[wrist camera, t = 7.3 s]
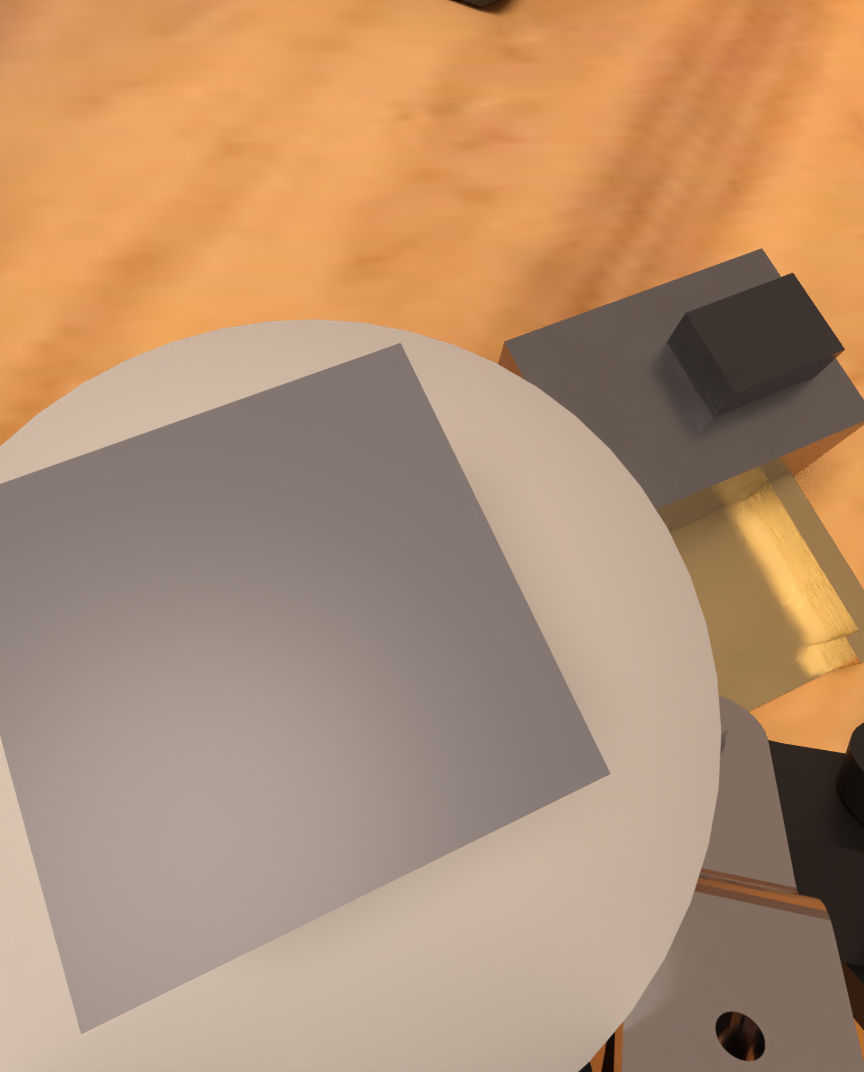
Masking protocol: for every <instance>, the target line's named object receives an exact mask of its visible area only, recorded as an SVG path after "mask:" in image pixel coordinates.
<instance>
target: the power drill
mask: <svg viewBox="0 0 864 1072" xmlns="http://www.w3.org/2000/svg"><path fill="white" fill-rule="evenodd" d="M462 1H465V2H468V3H471V4H474V5H477V6H480V7H482V6H485V5H488V4H490V3H493V2H496V1H498V0H462Z"/></svg>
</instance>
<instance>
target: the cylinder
mask: <svg viewBox="0 0 864 1072" xmlns="http://www.w3.org/2000/svg"><path fill="white" fill-rule="evenodd" d="M720 748H721V721H720V708H719V695H718V683H717V674H716V669H715V664H714V659H713V654H712V649H711V644H710V639H709V635H708V630H707V625H706V621H705V618H704V615H703V612H702V609H701V606H700V604H699V601H698V598H697V595H696V592H695V589H694V586H693V583H692V580H691V577H690V574H689V572H688V570H687V568H686V566H685V564H684V561H683V559H682V557H681V555H680V553H679V551H678V549H677V547H676V545H675V543H674V541H673V539H672V536H671V534H670V532H669V530H668V528H667V527H666V525H665V523H664V522H663V520H662V519H661V517H660V516H659V514H658V512H657V511H656V509H655V508H654V506H653V505H652V503H651V502H650V500H649V498H648V497H647V495H646V494H645V492H644V491H643V489H642V487H641V486H640V485H639V484H638V482H637V481H636V480H635V479H634V477H633V476H632V475H631V474H630V473H629V471H628V470H627V469H626V468H625V467H624V465H623V464H622V463H621V462H620V460H619V459H618V458H617V457H616V456H615V454H614V453H613V452H612V451H611V450H610V448H609V447H607V446H606V445H605V444H604V443H603V442H602V441H601V440H600V439H599V438H598V437H597V436H596V435H595V434H594V433H593V432H592V431H591V430H590V429H589V428H588V427H587V426H585V425H584V424H583V423H582V422H581V421H580V420H579V419H578V418H577V417H576V416H575V415H574V414H572V413H571V412H570V411H568V410H567V409H566V408H564V407H563V406H562V405H560V404H559V403H558V402H556V401H555V400H554V399H552V398H551V397H550V396H548V395H547V394H546V393H544V392H543V391H542V390H540V389H539V388H538V387H536V386H534V385H533V384H531V383H529V382H528V381H526V380H524V379H522V378H521V377H519V376H517V375H516V374H514V373H512V372H510V371H509V370H507V369H505V368H504V367H502V366H500V365H498V364H497V363H494V362H492V361H490V360H487V359H485V358H483V357H481V356H478V355H476V354H474V353H471V352H469V351H467V350H464V349H462V348H460V347H458V346H455V345H453V344H449V343H446V342H443V341H440V340H436V339H433V338H430V337H426V336H423V335H420V334H417V333H413V332H410V331H405V330H400V329H394V328H389V327H384V326H378V325H373V324H367V323H360V322H346V321H331V320H317V319H314V320H291V321H268V322H262V323H255V324H249V325H242V326H236V327H230V328H223V329H218V330H215V331H211V332H207V333H204V334H200V335H196V336H193V337H189V338H185V339H182V340H178V341H174V342H171V343H169V344H166V345H164V346H161V347H159V348H156V349H154V350H151V351H149V352H146V353H143V354H141V355H138V356H136V357H133V358H131V359H128V360H126V361H124V362H122V363H120V364H118V365H117V366H115V367H113V368H111V369H109V370H107V371H105V372H103V373H101V374H100V375H98V376H96V377H94V378H92V379H90V380H88V381H86V382H85V383H83V384H81V385H79V386H78V387H77V388H75V389H74V390H72V391H71V392H69V393H68V394H66V395H65V396H63V397H62V398H60V399H59V400H58V401H56V402H55V403H53V404H52V405H50V406H49V407H47V408H46V409H44V410H43V411H41V412H40V413H39V414H37V415H36V416H35V417H34V418H33V419H32V420H30V421H29V422H28V423H27V424H26V425H25V426H23V427H22V428H21V429H20V430H19V431H18V432H17V433H15V434H14V435H13V436H12V437H11V438H10V439H8V440H7V441H6V442H5V443H4V444H3V445H1V446H0V1072H578V1071H580V1070H581V1069H582V1068H583V1067H584V1066H585V1065H586V1064H587V1063H588V1062H590V1060H591V1059H592V1058H593V1057H594V1056H595V1054H596V1053H597V1052H598V1051H599V1050H600V1048H601V1047H602V1046H603V1045H604V1044H605V1043H606V1041H607V1040H608V1039H609V1038H610V1037H611V1035H612V1034H613V1033H614V1032H615V1031H616V1029H617V1028H618V1027H619V1026H620V1025H621V1023H622V1022H623V1021H624V1020H625V1019H626V1017H627V1016H628V1015H629V1014H630V1013H631V1011H632V1010H633V1008H634V1007H635V1005H636V1004H637V1002H638V1000H639V999H640V997H641V996H642V994H643V992H644V991H645V989H646V988H647V986H648V984H649V983H650V981H651V980H652V978H653V977H654V975H655V973H656V972H657V970H658V969H659V967H660V965H661V964H662V962H663V961H664V959H665V957H666V955H667V953H668V951H669V949H670V946H671V944H672V942H673V940H674V938H675V936H676V933H677V931H678V929H679V927H680V925H681V922H682V920H683V918H684V916H685V914H686V912H687V909H688V907H689V905H690V903H691V900H692V897H693V894H694V890H695V887H696V884H697V881H698V877H699V874H700V871H701V868H702V865H703V861H704V858H705V855H706V852H707V848H708V845H709V840H710V834H711V828H712V823H713V817H714V811H715V805H716V800H717V794H718V788H719V769H720Z"/></svg>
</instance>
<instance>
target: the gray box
mask: <svg viewBox="0 0 864 1072" xmlns="http://www.w3.org/2000/svg"><path fill="white" fill-rule="evenodd" d="M844 350H845V349H844V347H843V346H842V344H841V343H840V341H839V340H838V338H837V337H836V335H835V334H834V333H833V331H832V330H831V328H830V327H829V325H828V324H827V322H826V321H825V319H824V318H823V316H822V315H821V313H820V312H819V310H818V309H817V307H816V306H815V305H814V303H813V302H812V300H811V299H810V297H809V296H808V294H807V293H806V291H805V290H804V288H803V287H802V285H801V284H800V282H799V281H798V279H797V278H796V276H795V275H794V274H793V273H791V274H788V275H786V276H783V277H781V276H780V275H779V273H778V272H777V270H776V269H775V267H774V266H773V264H772V263H771V261H770V260H769V258H768V257H767V255H766V254H765V252H764V251H763V249H759V250H756V251H753V252H751V253H748V254H745V255H742V256H740V257H737V258H734V259H731V260H729V261H726V262H723V263H720V264H718V265H715V266H712V267H709V268H706V269H704V270H701V271H698V272H695V273H693V274H690V275H687V276H684V277H682V278H679V279H676V280H673V281H671V282H668V283H665V284H662V285H660V286H657V287H654V288H651V289H648V290H646V291H643V292H640V293H637V294H635V295H632V296H629V297H626V298H624V299H621V300H618V301H615V302H613V303H610V304H607V305H604V306H602V307H599V308H596V309H593V310H590V311H588V312H585V313H582V314H579V315H577V316H574V317H571V318H568V319H566V320H563V321H560V322H557V323H555V324H552V325H549V326H546V327H544V328H541V329H538V330H535V331H532V332H530V333H527V334H524V335H521V336H519V337H516V338H513V339H510V340H508V341H505V342H504V345H503V349H502V352H501V356H500V360H499V363H498V365H500V366H502V367H504V368H505V369H507V370H509V371H510V372H512V373H514V374H516V375H517V376H519V377H521V378H522V379H524V380H526V381H528V382H529V383H531V384H533V385H534V386H536V387H538V388H539V389H540V390H542V391H543V392H544V393H546V394H547V395H548V396H550V397H551V398H552V399H554V400H555V401H556V402H558V403H559V404H560V405H562V406H563V407H564V408H566V409H567V410H568V411H570V412H571V413H572V414H574V415H575V416H576V417H577V418H578V419H579V420H580V421H581V422H582V423H583V424H584V425H585V426H587V427H588V428H589V429H590V430H591V431H592V432H593V433H594V434H595V435H596V436H597V437H598V438H599V439H600V440H601V441H602V442H603V443H604V444H605V445H606V446H607V447H609V448H610V450H611V451H612V452H613V453H614V454H615V456H616V457H617V458H618V459H619V460H620V462H621V463H622V464H623V465H624V467H625V468H626V469H627V470H628V471H629V473H630V474H631V475H632V476H633V477H634V479H635V480H636V481H637V482H638V484H639V485H640V486H641V487H642V489H643V491H644V492H645V494H646V495H647V497H648V498H649V500H650V502H651V503H652V505H653V506H654V508H655V509H656V511H657V512H658V514H659V516H660V517H661V519H662V520H663V522H664V523H665V525H666V527H667V528H668V530H669V532H670V534H671V536H672V539H673V541H674V543H675V545H676V547H677V549H678V551H679V553H680V555H681V557H682V559H683V561H684V564H685V566H686V568H687V570H688V572H689V574H690V577H691V580H692V583H693V586H694V589H695V592H696V595H697V598H698V601H699V604H700V606H701V609H702V612H703V615H704V618H705V621H706V625H707V630H708V635H709V639H710V644H711V649H712V654H713V659H714V664H715V669H716V674H717V683H718V695H720V696H723V697H725V698H727V699H729V700H731V701H733V702H735V703H737V704H738V705H740V706H741V707H743V708H744V709H745V710H747V711H750V710H752V709H754V708H756V707H758V706H760V705H762V704H765V703H767V702H769V701H771V700H773V699H775V698H777V697H779V696H781V695H783V694H785V693H787V692H789V691H791V690H793V689H795V688H797V687H799V686H801V685H803V684H805V683H807V682H809V681H811V680H813V679H815V678H817V677H819V676H821V675H823V674H825V673H827V672H829V671H831V670H834V669H839V668H843V667H847V666H852V665H856V664H860V663H862V662H864V589H863V588H862V586H861V585H860V583H859V581H858V580H857V578H856V576H855V575H854V573H853V572H852V570H851V568H850V567H849V565H848V564H847V562H846V560H845V559H844V557H843V556H842V554H841V552H840V551H839V549H838V548H837V546H836V544H835V543H834V541H833V539H832V538H831V536H830V535H829V533H828V531H827V530H826V528H825V527H824V525H823V523H822V522H821V520H820V519H819V517H818V515H817V514H816V512H815V511H814V509H813V507H812V506H811V504H810V502H809V501H808V499H807V498H806V496H805V494H804V493H803V491H802V490H801V488H800V486H799V485H798V483H797V482H796V480H795V478H794V477H793V476H795V475H796V474H797V473H799V472H800V471H801V470H803V469H804V468H806V467H807V466H808V465H810V464H811V463H812V462H814V461H815V460H816V459H818V458H819V457H821V456H822V455H823V454H825V453H826V452H827V451H829V450H830V449H832V448H833V447H834V446H836V445H837V444H838V443H840V442H841V441H842V440H844V439H845V438H847V437H848V436H849V435H851V434H852V433H853V432H855V431H856V430H858V429H859V428H860V427H862V426H863V425H864V400H863V398H862V397H861V395H860V394H859V392H858V391H857V389H856V388H855V386H854V385H853V383H852V382H851V380H850V379H849V377H848V376H847V374H846V373H845V371H844V370H843V368H842V367H841V365H840V364H839V362H838V361H837V359H836V357H837V356H838V355H840V354H841V353H842V352H843V351H844Z"/></svg>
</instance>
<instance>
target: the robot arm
mask: <svg viewBox="0 0 864 1072" xmlns="http://www.w3.org/2000/svg"><path fill="white" fill-rule="evenodd" d="M719 708H720V721H721V748H720V769H719V788H718V794H717V800H716V805H715V811H714V817H713V823H712V828H711V834H710V840H709V845H708V848H707V852H706V855H705V858H704V861H703V865H702V868H701V871H700V874H699V877H698V881H697V884H696V887H695V890H694V894H693V897H692V900H691V903H690V905H689V907H688V909H687V912H686V914H685V916H684V918H683V920H682V922H681V925H680V927H679V929H678V931H677V933H676V936H675V938H674V940H673V942H672V944H671V946H670V949H669V951H668V953H667V955H666V957H665V959H664V961H663V962H662V964H661V965H660V967H659V969H658V970H657V972H656V973H655V975H654V977H653V978H652V980H651V981H650V983H649V984H648V986H647V988H646V989H645V991H644V992H643V994H642V996H641V997H640V999H639V1000H638V1002H637V1004H636V1005H635V1007H634V1008H633V1010H632V1011H631V1013H630V1014H629V1015H628V1016H627V1017H626V1019H625V1020H624V1021H623V1022H622V1023H621V1025H620V1026H619V1027H618V1028H617V1029H616V1031H615V1032H614V1033H613V1034H612V1035H611V1037H610V1038H609V1039H608V1040H607V1041H606V1043H605V1044H604V1045H603V1046H602V1047H601V1048H600V1050H599V1051H598V1052H597V1053H596V1054H595V1056H594V1057H593V1058H592V1059H591V1064H590V1062H588V1063H587V1064H586V1065H585V1066H584V1067H583V1068H582V1069H581V1070H580V1071H578V1072H864V1062H863V1058H862V1053H861V1049H860V1045H859V1040H858V1036H857V1032H856V1027H855V1023H854V1019H855V1020H856V1021H857V1022H858V1024H859V1025H860V1026H861V1027H862V1029H863V1030H864V723H862V724H861V725H860V726H858V727H857V728H856V729H855V730H854V732H853V733H852V736H851V739H850V742H849V745H848V748H847V751H846V754H845V753H839V752H833V751H826V750H820V749H814V748H808V747H802V746H796V745H790V744H784V743H779V742H774V741H770V740H768V739H767V736H766V733H765V731H764V729H763V728H762V726H761V724H760V723H759V722H758V721H757V720H756V718H755V717H754V716H752V715H751V714H750V713H749V712H748V711H747V710H745V709H744V708H743V707H741V706H740V705H738V704H737V703H735V702H733V701H731V700H729V699H727V698H725V697H723V696H720V695H719Z"/></svg>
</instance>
